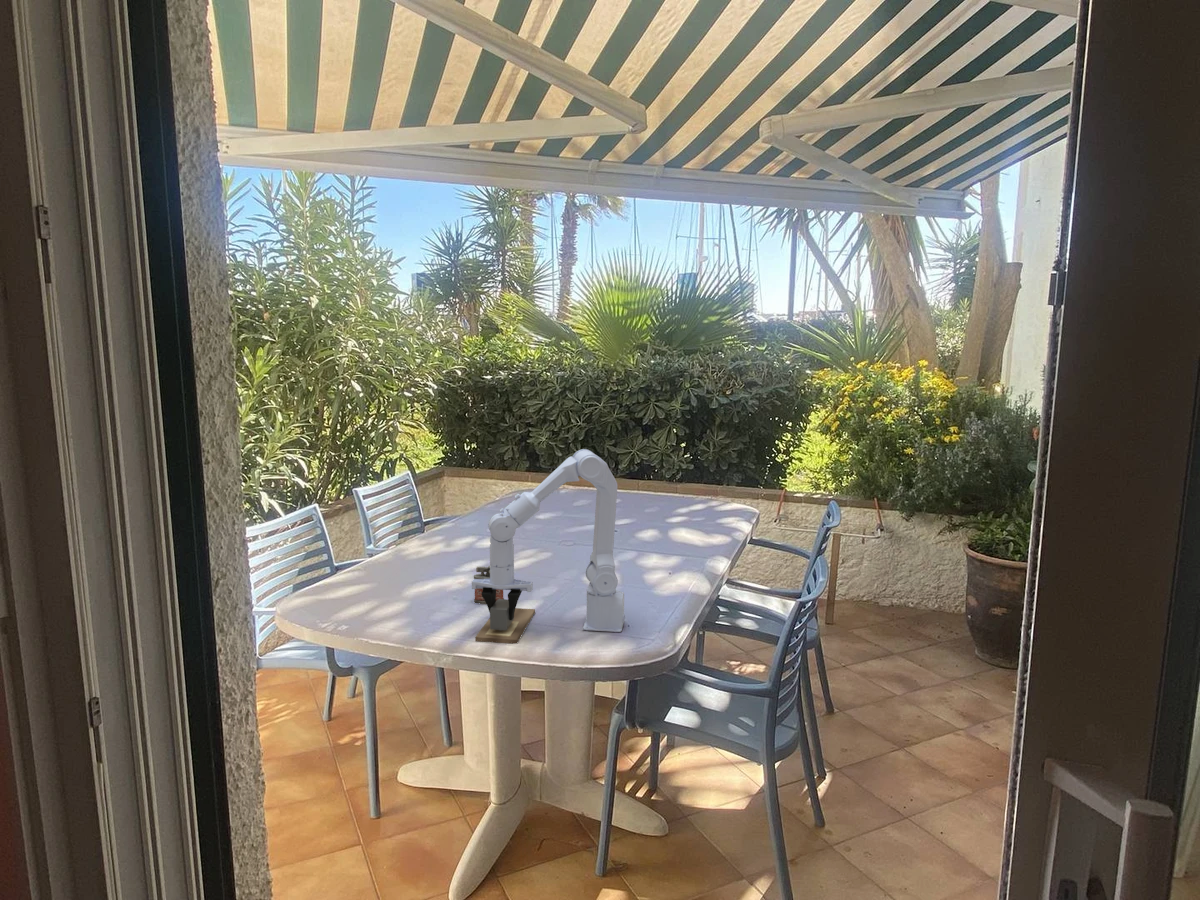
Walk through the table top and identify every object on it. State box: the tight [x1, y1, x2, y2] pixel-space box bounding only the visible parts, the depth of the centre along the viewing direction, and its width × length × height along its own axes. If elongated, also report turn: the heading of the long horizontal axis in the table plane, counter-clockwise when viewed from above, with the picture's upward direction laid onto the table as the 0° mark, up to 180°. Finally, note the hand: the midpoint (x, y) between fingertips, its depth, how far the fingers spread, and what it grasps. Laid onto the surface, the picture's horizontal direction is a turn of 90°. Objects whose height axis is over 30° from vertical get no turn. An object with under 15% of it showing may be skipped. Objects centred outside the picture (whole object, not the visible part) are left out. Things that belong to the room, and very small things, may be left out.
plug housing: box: [489, 598, 514, 630], centre depth 175 cm, size 4×7×5 cm, turn 173°
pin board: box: [474, 607, 536, 644], centre depth 180 cm, size 10×20×3 cm, turn 173°
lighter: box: [473, 565, 505, 605], centre depth 196 cm, size 8×3×10 cm, turn 92°
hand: (502, 618), depth 175 cm, fingers closed on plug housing, 4 cm apart
